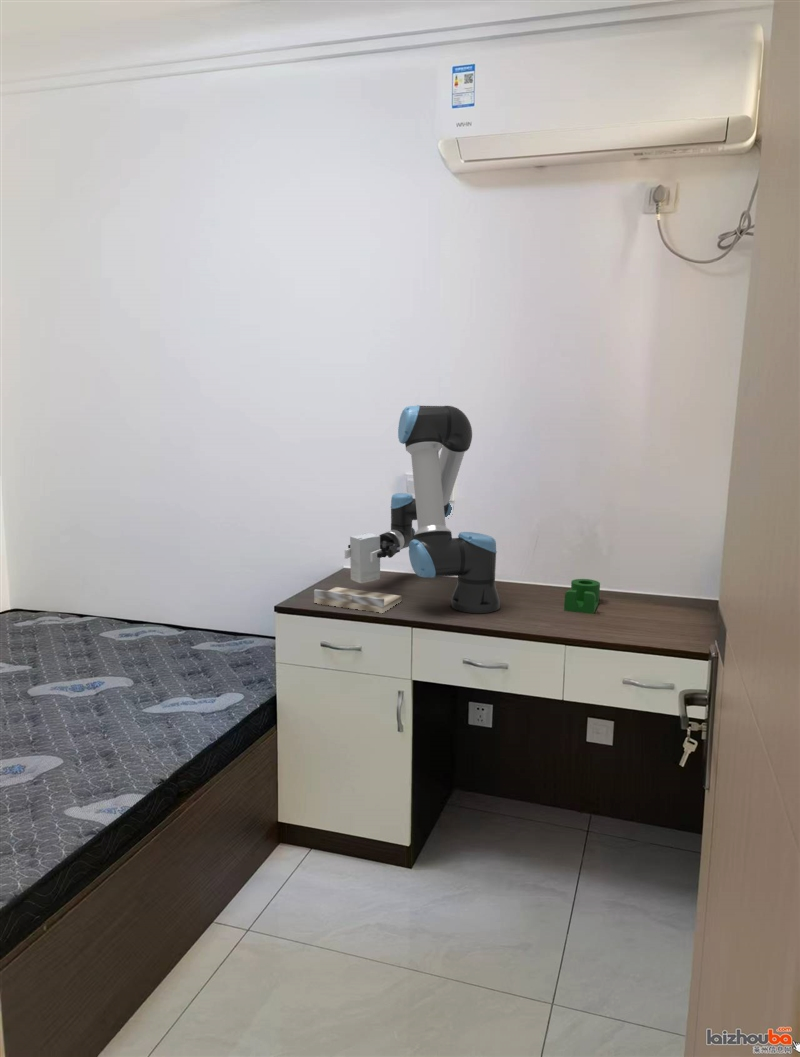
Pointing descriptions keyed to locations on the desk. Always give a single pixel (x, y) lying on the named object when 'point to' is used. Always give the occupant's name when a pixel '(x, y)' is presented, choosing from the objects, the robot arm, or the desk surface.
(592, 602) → the slotted cylinder bracket
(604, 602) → the desk surface
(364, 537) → the skincare box
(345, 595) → the shelf board
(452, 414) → the robot arm
